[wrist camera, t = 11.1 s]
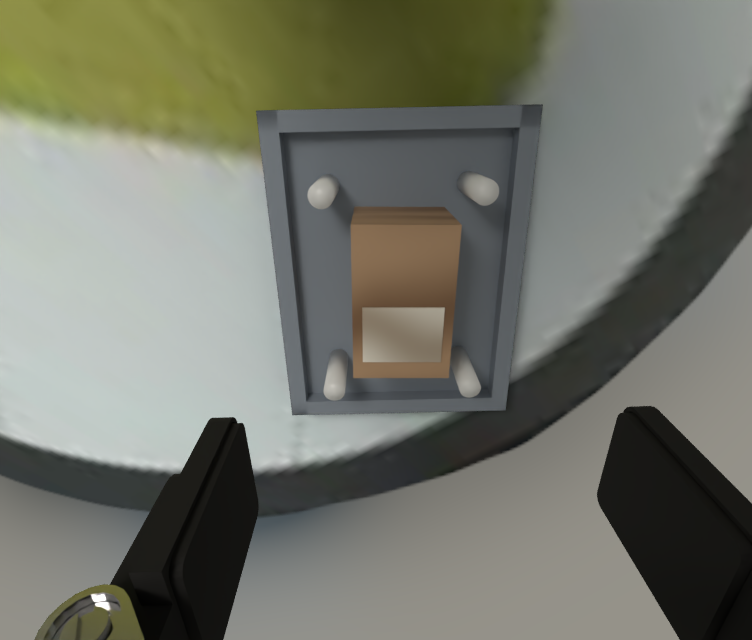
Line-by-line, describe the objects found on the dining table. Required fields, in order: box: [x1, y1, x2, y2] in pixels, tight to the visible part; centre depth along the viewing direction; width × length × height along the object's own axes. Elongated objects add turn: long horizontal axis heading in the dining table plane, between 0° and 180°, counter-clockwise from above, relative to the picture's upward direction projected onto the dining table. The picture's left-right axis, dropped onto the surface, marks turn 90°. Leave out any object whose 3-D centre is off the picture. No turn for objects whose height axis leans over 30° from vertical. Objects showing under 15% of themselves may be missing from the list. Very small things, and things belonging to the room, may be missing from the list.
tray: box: [256, 104, 543, 415], centre depth 24 cm, size 18×14×5 cm
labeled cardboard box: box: [351, 207, 462, 378], centre depth 23 cm, size 8×5×5 cm, turn 0°
